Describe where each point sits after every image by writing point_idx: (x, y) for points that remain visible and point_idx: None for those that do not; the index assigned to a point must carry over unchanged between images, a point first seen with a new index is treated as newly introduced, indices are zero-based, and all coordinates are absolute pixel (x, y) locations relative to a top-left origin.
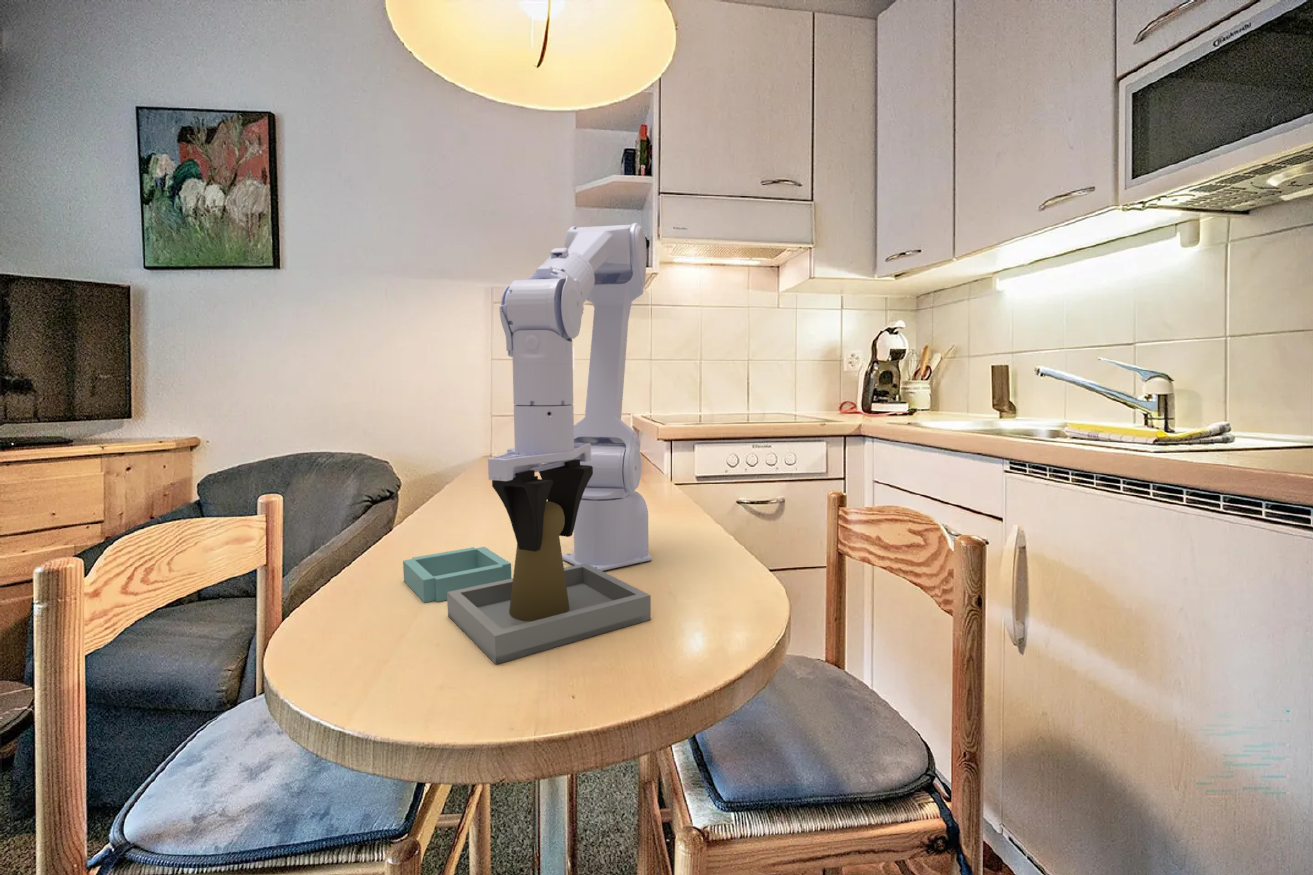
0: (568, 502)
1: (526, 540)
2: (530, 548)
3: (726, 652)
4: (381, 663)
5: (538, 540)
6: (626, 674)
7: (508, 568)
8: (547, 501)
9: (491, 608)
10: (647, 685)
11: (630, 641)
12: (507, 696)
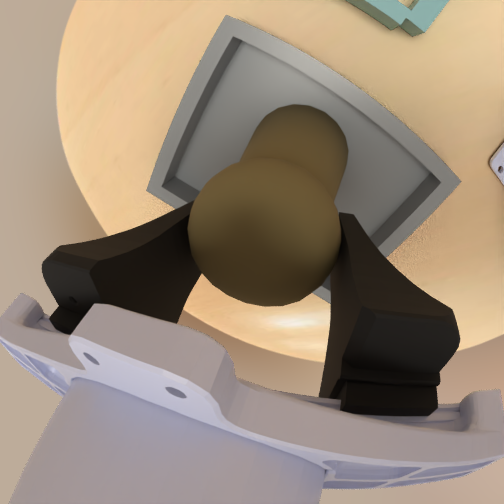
0: (334, 312)
1: None
2: None
3: (281, 339)
4: (112, 71)
5: None
6: (211, 286)
7: (416, 29)
8: (286, 280)
9: (273, 75)
10: (205, 300)
11: None
12: (136, 217)
